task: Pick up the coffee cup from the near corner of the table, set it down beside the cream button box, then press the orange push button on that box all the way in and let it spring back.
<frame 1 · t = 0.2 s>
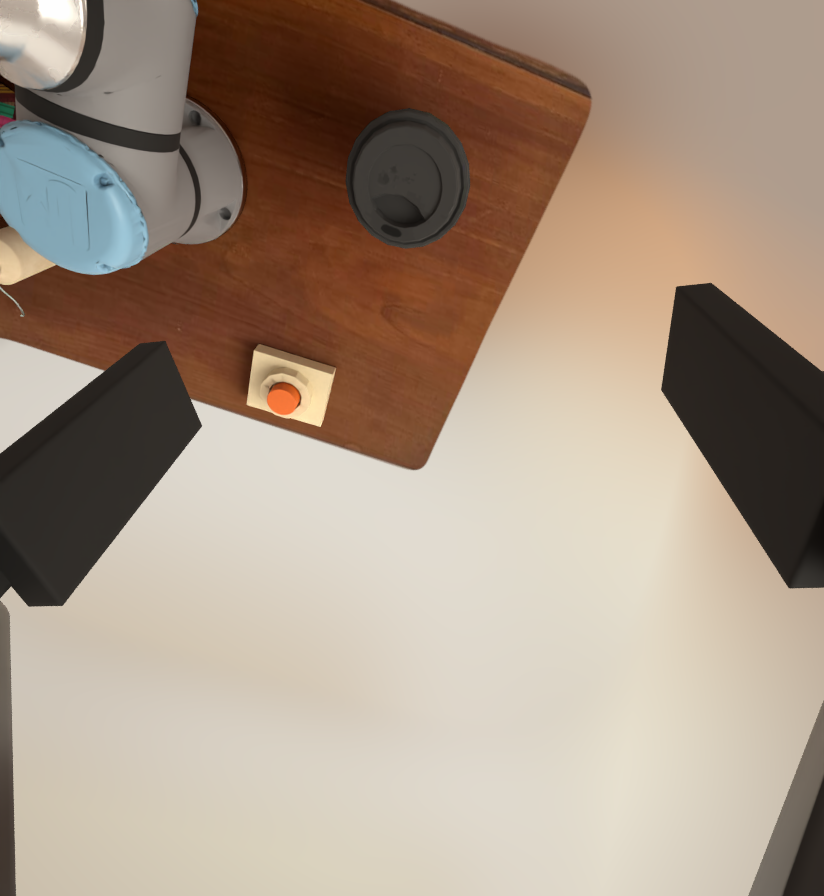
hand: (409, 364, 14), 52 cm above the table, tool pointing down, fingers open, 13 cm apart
candle: (46, 241, 66), on the table
button: (283, 398, 71), point 5 cm above the table, slide at 0.1 cm
coffee cup: (417, 165, 58), on the table
headphones: (25, 317, 70), point 2 cm above the table
button box: (292, 382, 74), on the table
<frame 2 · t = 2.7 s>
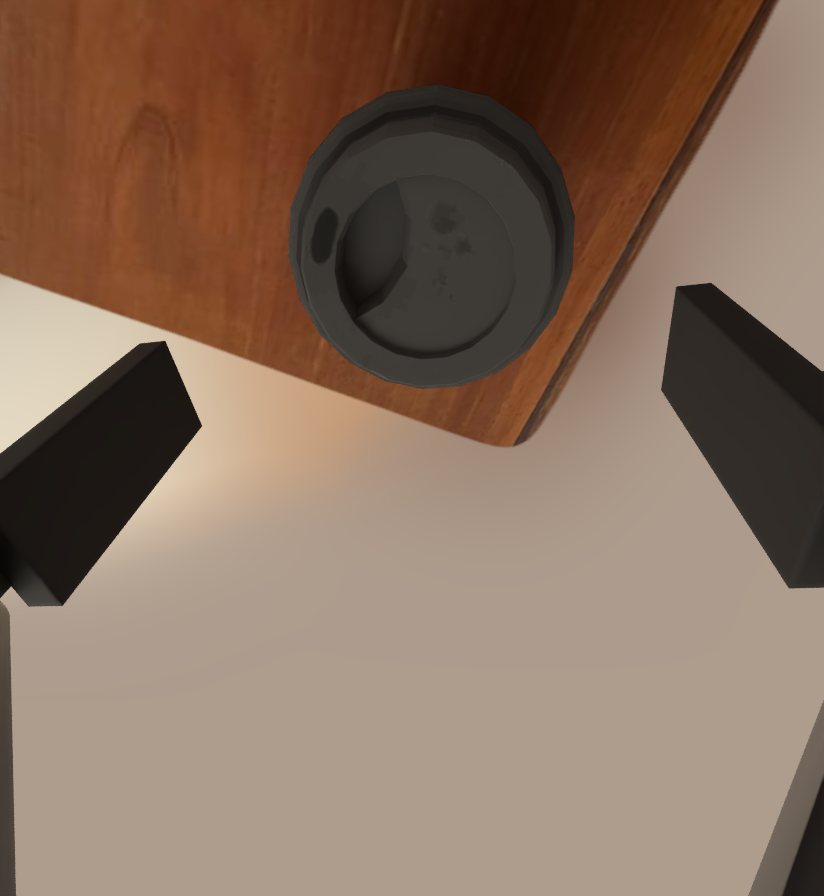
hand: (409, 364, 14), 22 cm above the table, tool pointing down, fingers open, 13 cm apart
coffee cup: (441, 199, 31), on the table
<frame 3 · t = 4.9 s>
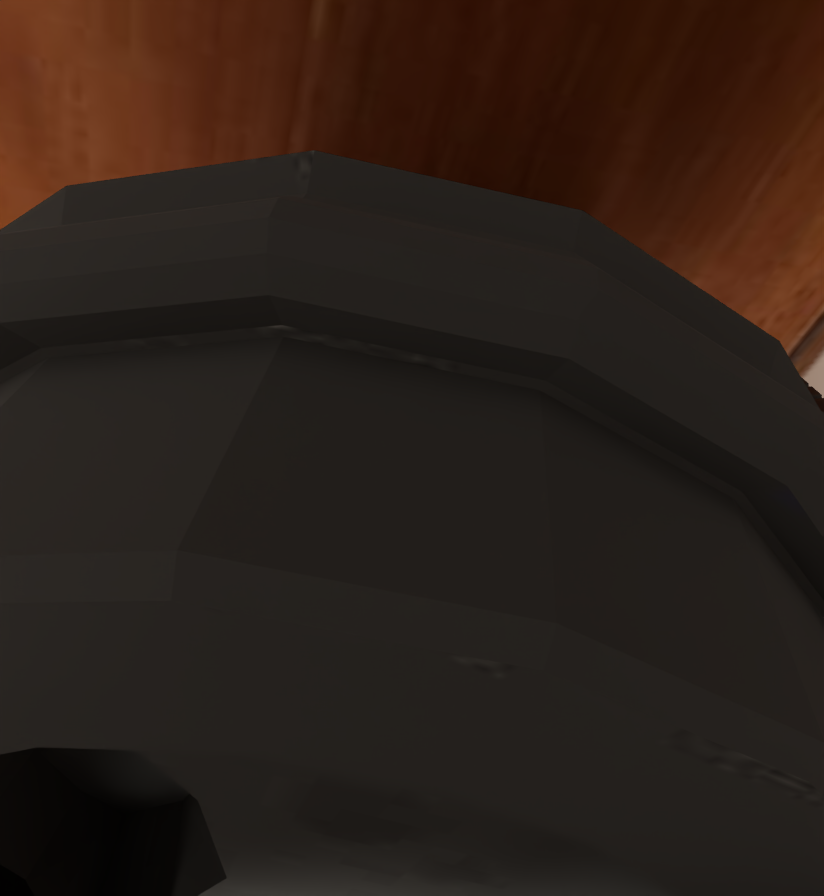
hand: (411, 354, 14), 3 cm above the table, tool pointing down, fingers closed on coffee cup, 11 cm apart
coffee cup: (420, 310, 17), on the table, touching gripper
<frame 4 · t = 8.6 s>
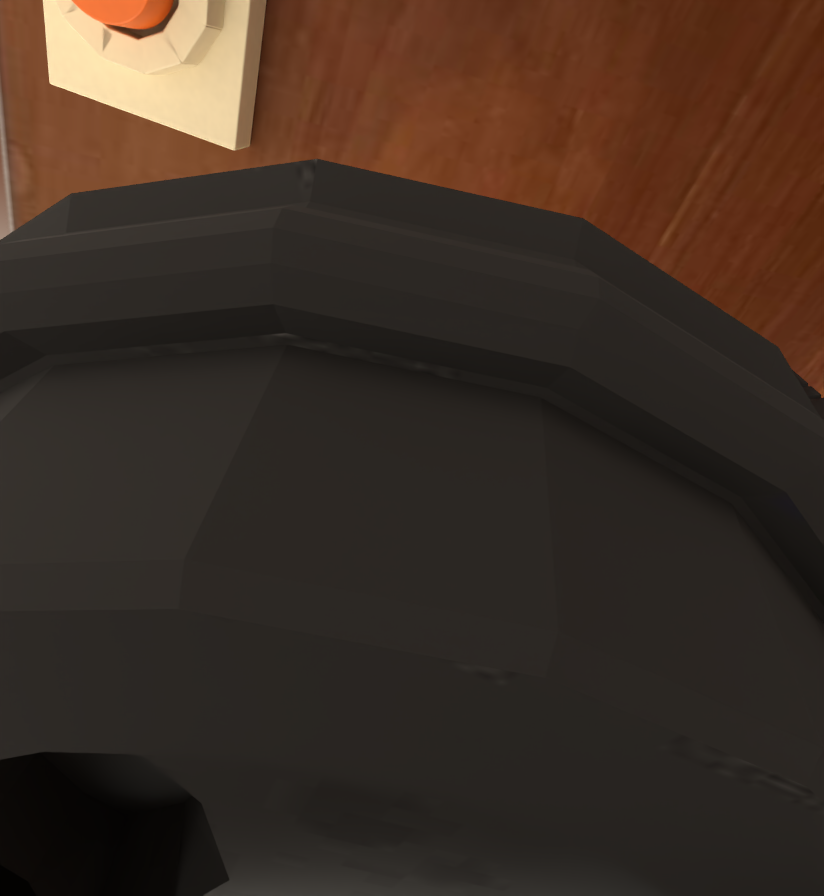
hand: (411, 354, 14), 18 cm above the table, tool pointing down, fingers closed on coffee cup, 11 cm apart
coffee cup: (420, 312, 17), point 14 cm above the table, touching gripper
when the fingers open (3 cm above the table, at t = 12.5 s): coffee cup stays where it is, on the table.
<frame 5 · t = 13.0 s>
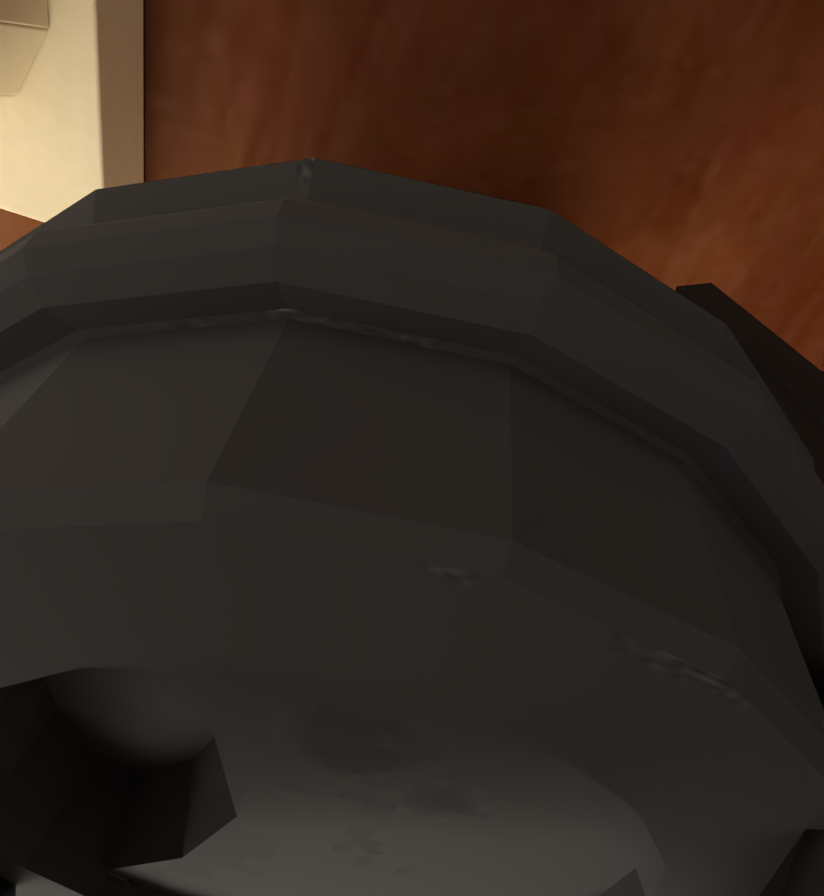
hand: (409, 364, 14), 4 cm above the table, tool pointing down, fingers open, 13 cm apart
coffee cup: (416, 308, 17), on the table
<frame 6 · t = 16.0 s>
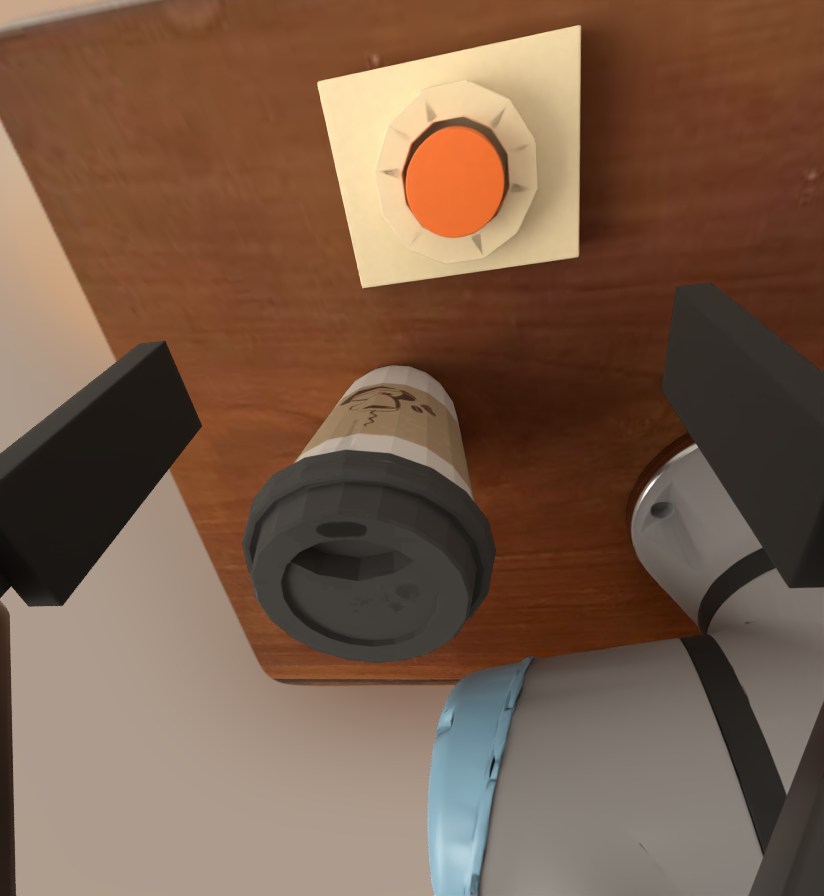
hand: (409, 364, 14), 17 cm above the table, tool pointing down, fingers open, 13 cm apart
button: (455, 182, 22), point 5 cm above the table, slide at 0.1 cm
coffee cup: (399, 412, 34), on the table
button box: (457, 169, 26), on the table
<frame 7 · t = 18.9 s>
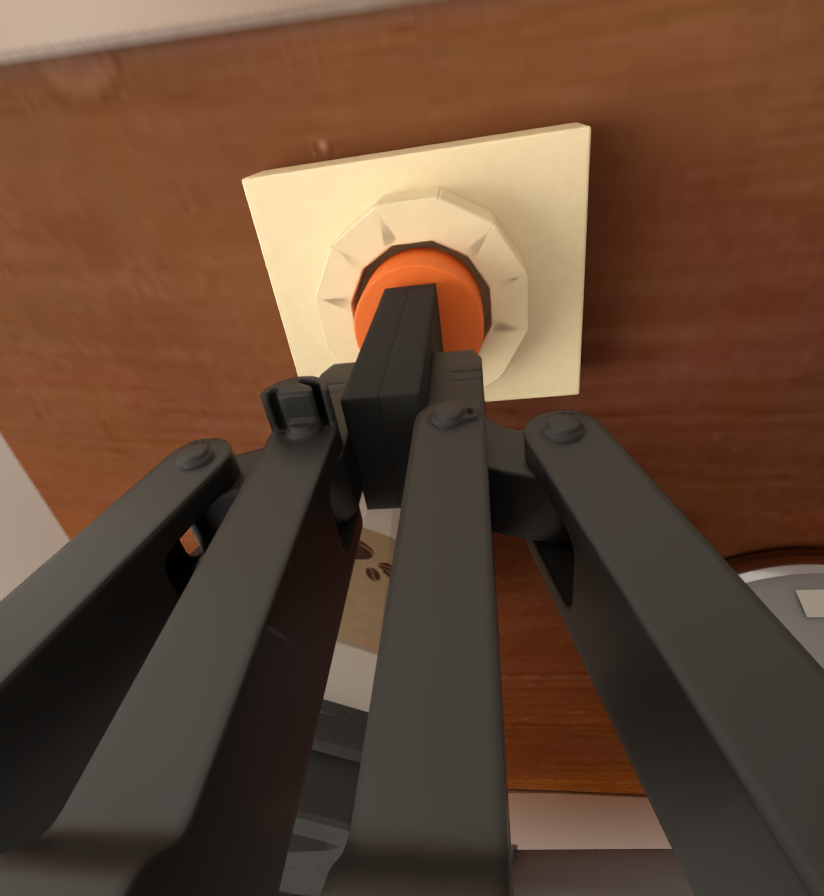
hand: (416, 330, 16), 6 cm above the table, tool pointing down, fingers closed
button: (420, 319, 17), point 4 cm above the table, slide at -0.1 cm, touching gripper
coffee cup: (362, 532, 29), on the table
button box: (428, 278, 20), on the table
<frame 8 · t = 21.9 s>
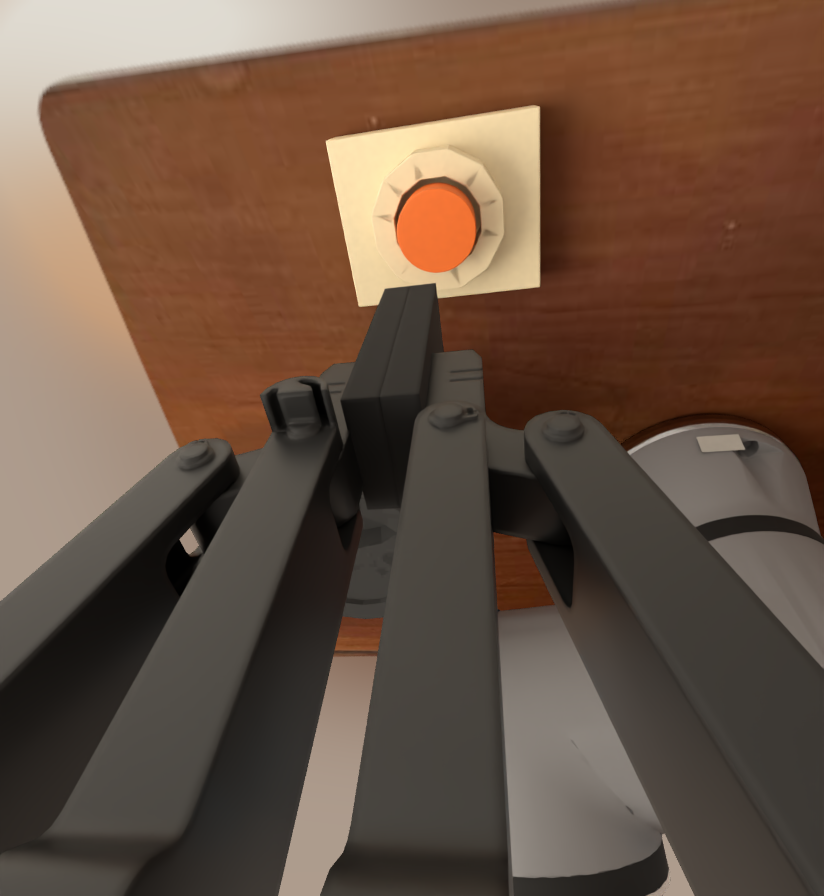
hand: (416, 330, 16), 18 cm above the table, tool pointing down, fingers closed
button: (437, 228, 27), point 5 cm above the table, slide at 0.1 cm
coffee cup: (389, 411, 39), on the table
button box: (440, 210, 31), on the table
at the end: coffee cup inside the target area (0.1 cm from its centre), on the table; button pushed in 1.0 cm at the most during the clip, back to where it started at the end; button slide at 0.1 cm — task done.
